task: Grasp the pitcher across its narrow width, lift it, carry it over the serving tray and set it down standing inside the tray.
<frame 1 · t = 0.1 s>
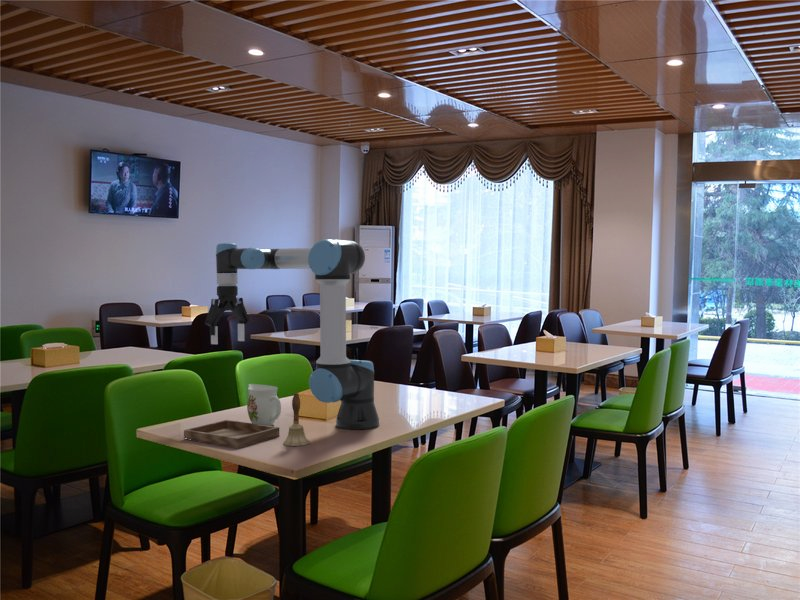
hand: (228, 342, 274), 28 cm above the table, fingers open, 13 cm apart
tray: (232, 437, 241), on the table
hand bell: (296, 444, 233), on the table
pitcher: (264, 426, 260), on the table
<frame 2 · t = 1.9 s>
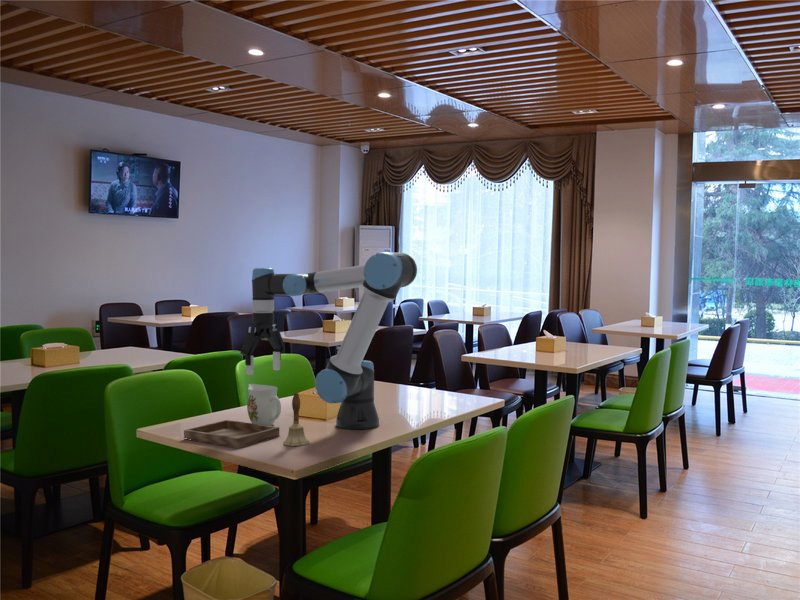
hand: (263, 372, 260), 19 cm above the table, fingers open, 13 cm apart
nothing on the table moved.
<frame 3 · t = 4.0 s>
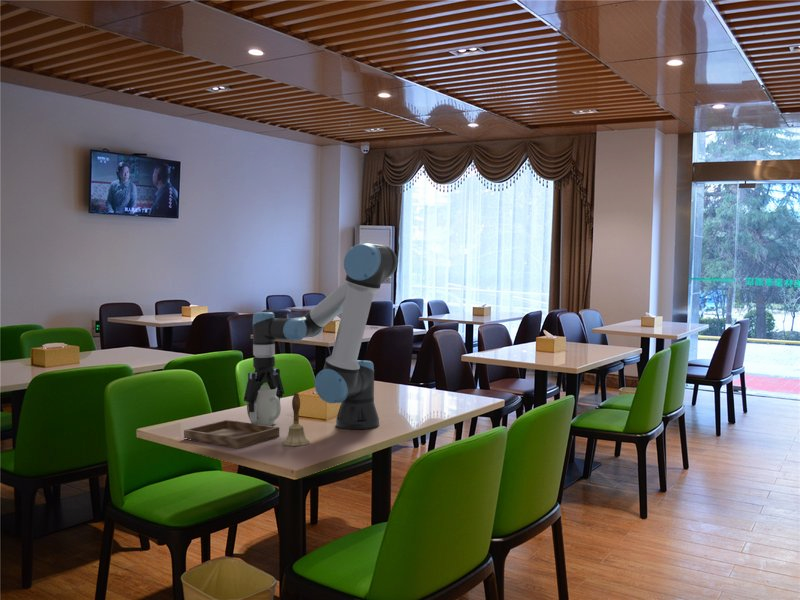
hand: (264, 418, 260), 3 cm above the table, fingers closed on pitcher, 11 cm apart
pitcher: (264, 426, 260), on the table, touching gripper
everything else where it was.
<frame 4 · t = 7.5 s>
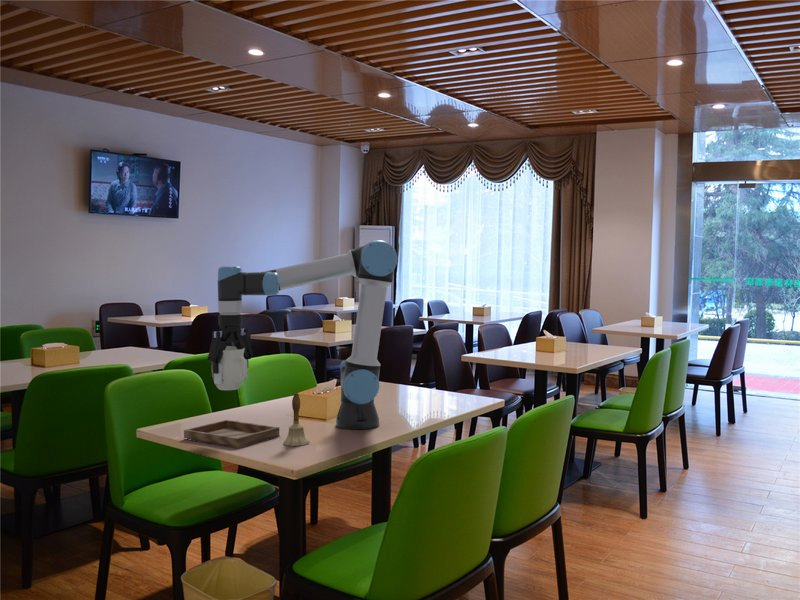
hand: (231, 381, 241), 19 cm above the table, fingers closed on pitcher, 11 cm apart
pitcher: (230, 389, 241), point 16 cm above the table, touching gripper
everything else where it was.
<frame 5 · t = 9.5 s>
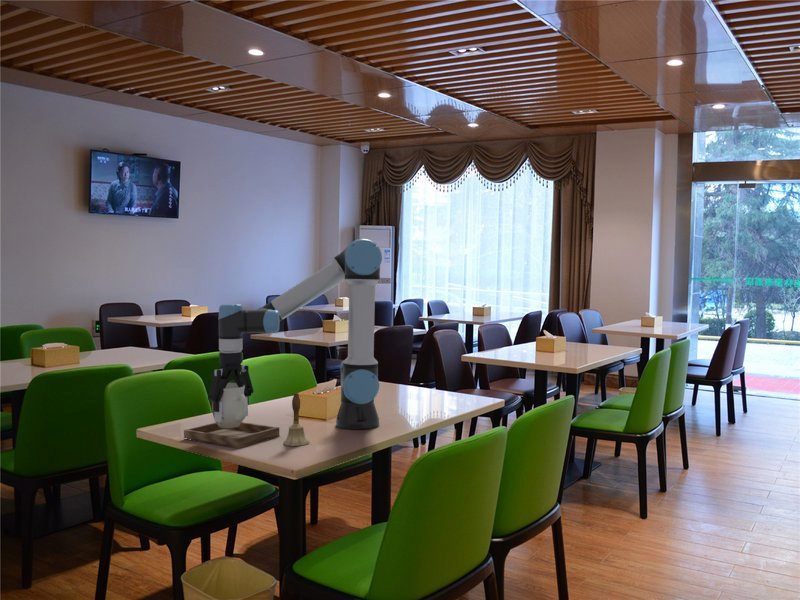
hand: (231, 418, 241), 6 cm above the table, fingers closed on pitcher, 11 cm apart
pitcher: (230, 427, 241), point 4 cm above the table, touching gripper
everything else where it was.
when the fingers open (5 cm above the table, at t = 11.0 s): pitcher drops 1 cm, resting on tray.
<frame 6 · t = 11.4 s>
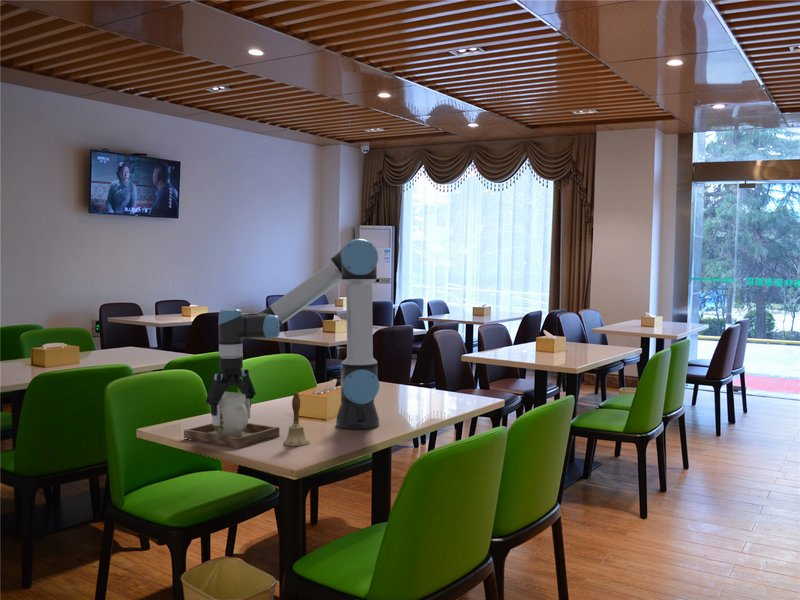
hand: (231, 421, 241), 5 cm above the table, fingers open, 13 cm apart
pitcher: (231, 436, 241), resting on tray
everything else where it was.
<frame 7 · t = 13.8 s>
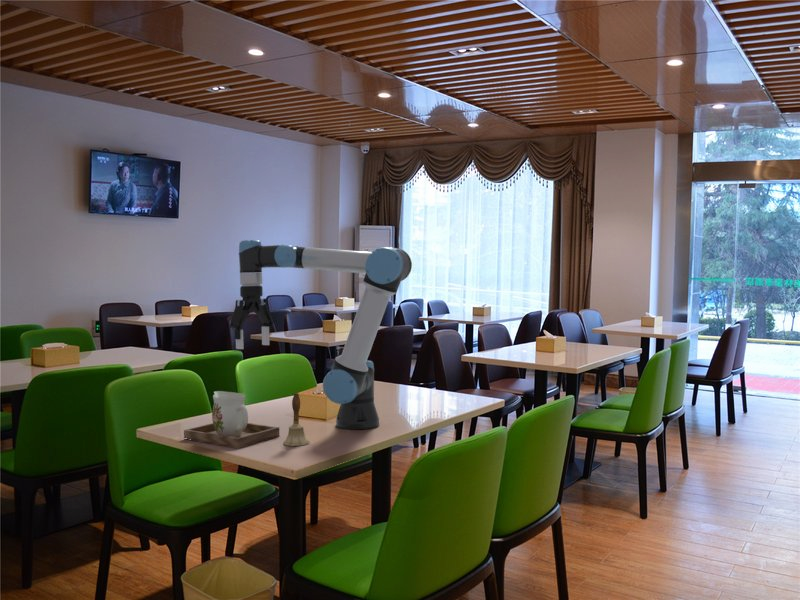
hand: (253, 347, 254), 28 cm above the table, fingers open, 13 cm apart
nothing on the table moved.
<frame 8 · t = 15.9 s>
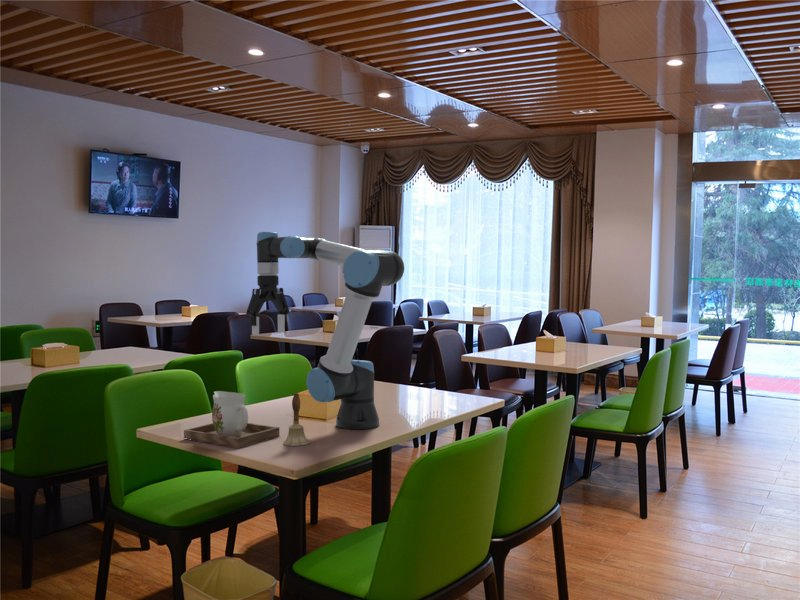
hand: (268, 333, 267), 32 cm above the table, fingers open, 13 cm apart
nothing on the table moved.
at the end: pitcher inside the target area on the tray (0.2 cm from its centre), point 0.4 cm above the tray's base; pitcher tilted 0°; the gripper is holding nothing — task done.
